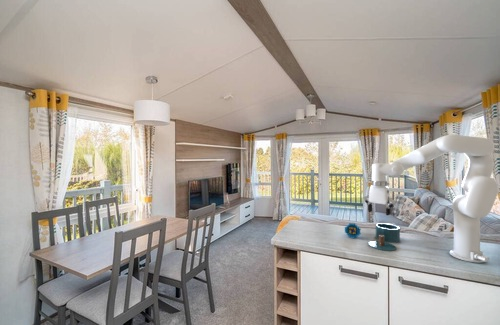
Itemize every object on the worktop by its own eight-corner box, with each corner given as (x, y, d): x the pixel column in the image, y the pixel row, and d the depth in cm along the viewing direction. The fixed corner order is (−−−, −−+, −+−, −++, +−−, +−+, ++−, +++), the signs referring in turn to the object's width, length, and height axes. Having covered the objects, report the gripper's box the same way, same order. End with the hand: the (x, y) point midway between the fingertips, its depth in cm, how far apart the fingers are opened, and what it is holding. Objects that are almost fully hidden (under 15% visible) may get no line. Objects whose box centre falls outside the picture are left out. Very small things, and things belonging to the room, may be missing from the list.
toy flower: (357, 237, 150) (361, 239, 134) (343, 235, 153) (345, 237, 137) (357, 223, 152) (360, 224, 136) (343, 222, 155) (344, 222, 139)
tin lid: (402, 251, 118) (402, 239, 118) (379, 252, 116) (379, 240, 116) (383, 242, 132) (383, 231, 132) (362, 243, 130) (362, 232, 130)
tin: (404, 242, 130) (404, 229, 130) (385, 244, 129) (385, 229, 129) (388, 235, 143) (388, 223, 143) (371, 236, 141) (371, 223, 141)
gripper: (398, 185, 122) (398, 215, 122) (367, 182, 136) (366, 209, 136) (392, 186, 118) (392, 217, 118) (361, 183, 132) (360, 211, 132)
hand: (378, 213), depth 127 cm, fingers open, 9 cm apart
